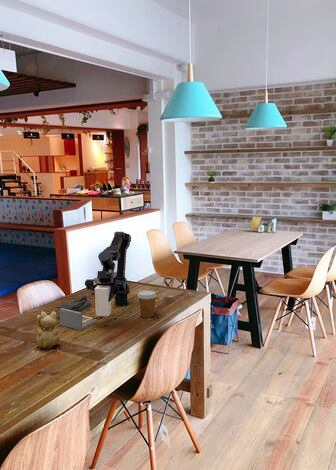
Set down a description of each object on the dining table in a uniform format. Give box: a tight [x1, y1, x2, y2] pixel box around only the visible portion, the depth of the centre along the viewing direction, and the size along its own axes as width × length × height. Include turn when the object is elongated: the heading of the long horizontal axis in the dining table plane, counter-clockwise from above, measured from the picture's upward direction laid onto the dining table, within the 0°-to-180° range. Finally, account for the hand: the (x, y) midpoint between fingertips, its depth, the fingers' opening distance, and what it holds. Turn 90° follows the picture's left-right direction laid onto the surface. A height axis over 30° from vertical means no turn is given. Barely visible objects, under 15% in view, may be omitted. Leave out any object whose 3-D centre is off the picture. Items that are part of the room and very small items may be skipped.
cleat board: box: [59, 308, 97, 331], centre depth 203 cm, size 11×13×8 cm
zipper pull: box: [55, 295, 92, 313], centre depth 221 cm, size 9×7×25 cm
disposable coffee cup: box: [136, 289, 157, 318], centre depth 213 cm, size 10×10×12 cm
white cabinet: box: [94, 286, 112, 317], centre depth 198 cm, size 6×6×13 cm
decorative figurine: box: [35, 311, 61, 350], centre depth 177 cm, size 10×8×15 cm
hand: (102, 301), depth 196 cm, fingers closed on white cabinet, 6 cm apart
